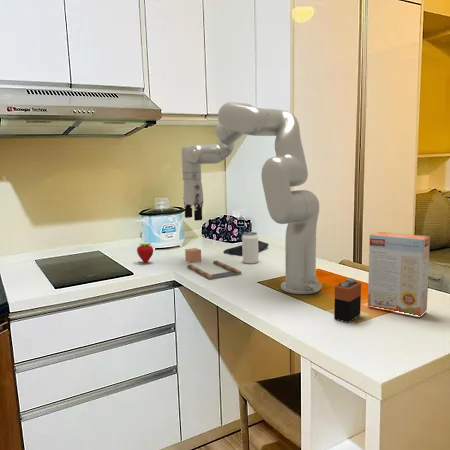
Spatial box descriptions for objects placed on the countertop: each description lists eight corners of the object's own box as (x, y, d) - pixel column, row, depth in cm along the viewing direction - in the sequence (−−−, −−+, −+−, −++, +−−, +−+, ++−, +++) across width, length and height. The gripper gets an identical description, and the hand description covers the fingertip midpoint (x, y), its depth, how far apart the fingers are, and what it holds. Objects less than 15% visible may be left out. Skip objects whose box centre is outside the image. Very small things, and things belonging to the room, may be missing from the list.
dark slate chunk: (274, 249, 197) (274, 239, 196) (247, 258, 180) (247, 247, 179) (247, 245, 206) (247, 236, 205) (219, 254, 189) (219, 244, 188)
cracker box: (427, 312, 111) (431, 235, 108) (420, 319, 107) (423, 239, 104) (375, 301, 121) (377, 230, 117) (366, 307, 116) (369, 233, 113)
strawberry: (144, 260, 179) (143, 237, 177) (157, 262, 174) (156, 239, 173) (134, 263, 174) (132, 239, 172) (147, 265, 170) (145, 241, 168)
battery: (360, 315, 111) (361, 279, 109) (349, 323, 106) (349, 285, 104) (345, 311, 114) (346, 276, 112) (333, 319, 109) (333, 282, 107)
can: (258, 260, 174) (258, 231, 172) (258, 264, 168) (257, 234, 166) (243, 260, 175) (242, 231, 173) (242, 264, 168) (241, 234, 166)
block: (201, 261, 174) (201, 250, 174) (190, 263, 172) (189, 251, 171) (196, 259, 179) (196, 247, 178) (185, 260, 176) (185, 249, 176)
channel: (241, 274, 153) (241, 271, 153) (209, 279, 147) (209, 276, 147) (216, 263, 171) (216, 260, 170) (187, 267, 165) (187, 264, 164)
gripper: (209, 177, 162) (210, 220, 165) (191, 175, 178) (193, 215, 180) (191, 177, 159) (193, 222, 162) (175, 176, 174) (177, 217, 177)
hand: (193, 218), depth 171 cm, fingers open, 9 cm apart
